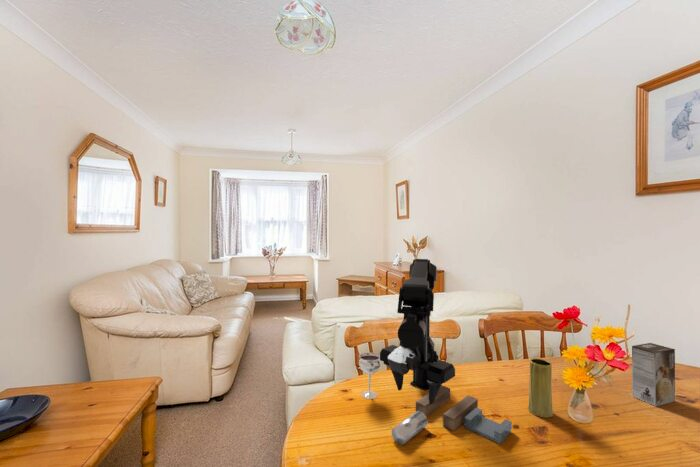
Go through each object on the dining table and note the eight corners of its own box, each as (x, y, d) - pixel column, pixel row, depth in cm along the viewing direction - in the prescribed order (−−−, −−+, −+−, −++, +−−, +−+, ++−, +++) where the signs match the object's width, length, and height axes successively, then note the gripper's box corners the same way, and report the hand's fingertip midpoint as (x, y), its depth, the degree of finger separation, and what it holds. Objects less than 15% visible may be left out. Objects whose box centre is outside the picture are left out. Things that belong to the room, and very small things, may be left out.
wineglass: (355, 397, 98) (355, 358, 98) (362, 387, 104) (363, 351, 104) (376, 402, 95) (376, 362, 95) (382, 391, 101) (383, 354, 101)
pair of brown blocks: (415, 412, 90) (415, 401, 90) (441, 395, 99) (441, 385, 99) (453, 431, 81) (453, 418, 81) (477, 410, 91) (477, 399, 91)
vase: (556, 419, 87) (557, 367, 87) (532, 416, 88) (532, 365, 88) (547, 407, 93) (548, 358, 93) (524, 405, 94) (525, 356, 94)
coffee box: (650, 392, 102) (650, 342, 102) (675, 402, 96) (676, 349, 96) (631, 396, 99) (631, 345, 99) (656, 407, 93) (656, 352, 93)
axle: (408, 443, 75) (399, 425, 76) (397, 447, 77) (389, 429, 79) (430, 424, 82) (422, 408, 83) (419, 429, 84) (411, 413, 86)
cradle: (464, 427, 83) (464, 417, 83) (476, 416, 88) (476, 407, 88) (501, 444, 77) (501, 433, 76) (511, 431, 81) (511, 421, 81)
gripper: (365, 332, 80) (365, 394, 80) (430, 352, 67) (430, 426, 67) (393, 323, 88) (392, 380, 88) (456, 340, 75) (456, 406, 75)
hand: (414, 396), depth 79 cm, fingers open, 9 cm apart
